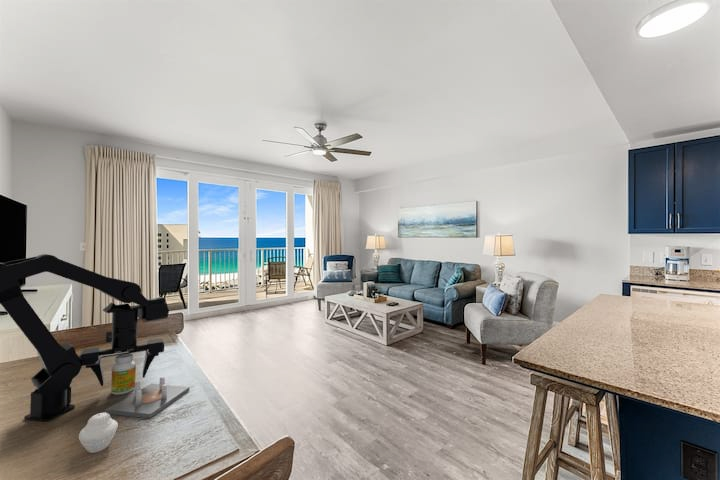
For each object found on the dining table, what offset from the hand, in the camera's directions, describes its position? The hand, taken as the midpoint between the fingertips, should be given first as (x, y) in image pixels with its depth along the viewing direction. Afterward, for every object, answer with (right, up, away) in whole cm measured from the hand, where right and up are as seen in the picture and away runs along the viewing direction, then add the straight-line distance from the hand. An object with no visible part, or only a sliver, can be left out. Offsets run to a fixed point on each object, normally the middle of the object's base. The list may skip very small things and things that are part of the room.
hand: (123, 381), depth 88 cm
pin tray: (+11, -3, -5) cm, 13 cm away
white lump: (+13, -3, -24) cm, 27 cm away
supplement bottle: (0, -3, 0) cm, 3 cm away
